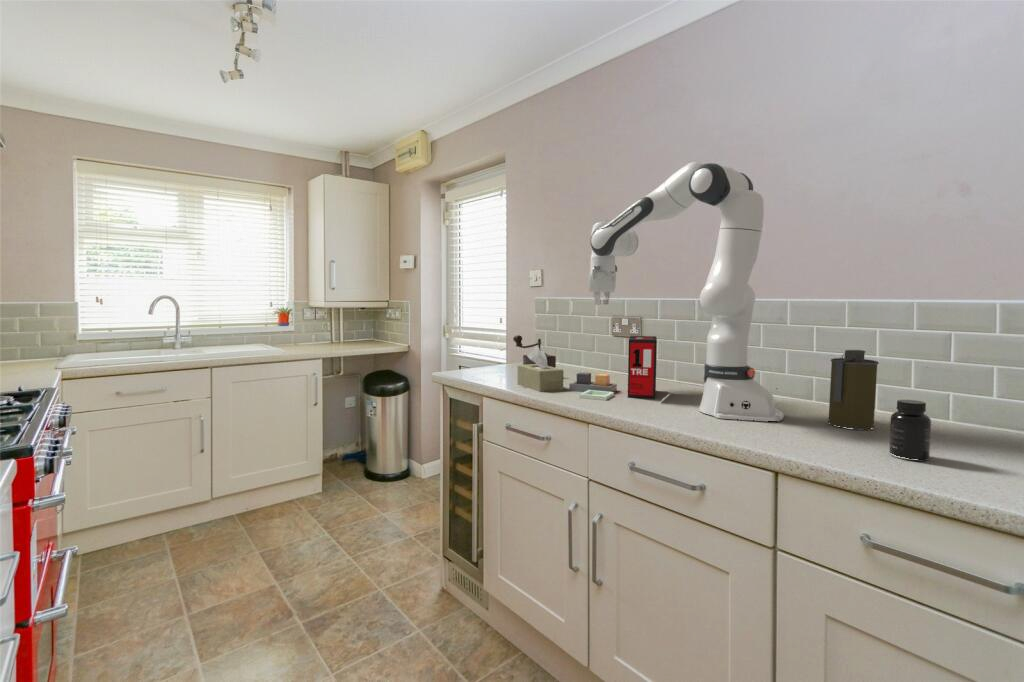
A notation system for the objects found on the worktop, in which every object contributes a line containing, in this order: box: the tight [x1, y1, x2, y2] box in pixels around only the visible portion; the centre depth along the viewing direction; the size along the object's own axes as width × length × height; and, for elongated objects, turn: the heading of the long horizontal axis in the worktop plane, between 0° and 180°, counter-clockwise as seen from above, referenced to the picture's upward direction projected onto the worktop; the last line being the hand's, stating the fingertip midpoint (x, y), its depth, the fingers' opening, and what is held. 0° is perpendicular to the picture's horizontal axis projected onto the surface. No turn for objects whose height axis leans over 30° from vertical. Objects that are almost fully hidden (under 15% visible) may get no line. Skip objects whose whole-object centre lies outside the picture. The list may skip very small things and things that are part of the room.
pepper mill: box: [512, 334, 557, 368], centre depth 216 cm, size 16×11×18 cm
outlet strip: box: [568, 380, 618, 393], centre depth 183 cm, size 15×8×3 cm, turn 62°
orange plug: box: [594, 373, 611, 386], centre depth 182 cm, size 4×4×6 cm
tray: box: [579, 390, 615, 401], centre depth 172 cm, size 9×9×2 cm
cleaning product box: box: [627, 335, 658, 400], centre depth 177 cm, size 16×9×20 cm, turn 165°
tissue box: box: [517, 346, 564, 393], centre depth 191 cm, size 19×10×16 cm, turn 25°
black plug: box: [576, 371, 592, 385], centre depth 185 cm, size 4×4×6 cm
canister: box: [827, 349, 880, 429], centre depth 135 cm, size 11×10×20 cm
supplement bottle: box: [888, 399, 932, 461], centre depth 109 cm, size 7×7×12 cm
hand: (602, 304), depth 189 cm, fingers open, 8 cm apart
